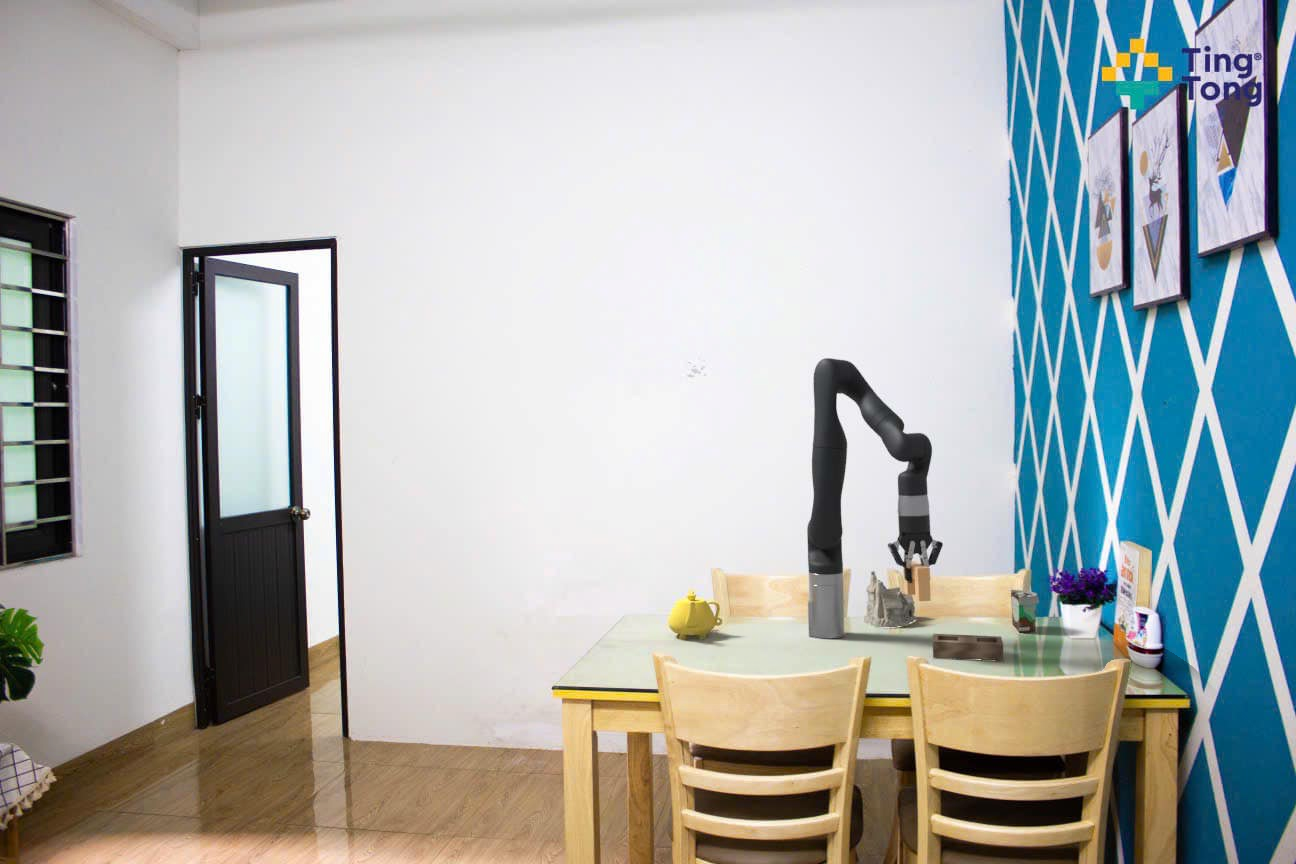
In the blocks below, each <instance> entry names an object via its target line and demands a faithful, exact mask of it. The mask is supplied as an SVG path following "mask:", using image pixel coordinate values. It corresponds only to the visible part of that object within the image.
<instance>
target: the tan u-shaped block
mask: <svg viewBox="0 0 1296 864" xmlns="http://www.w3.org/2000/svg"><path fill="white" fill-rule="evenodd" d="M911 571H912V583H908V582H907V581H906V580H905V577H904V576H903V588H904V589H903V591H904V593H903V594H907V595H912V596H913V595H915V601H917V602H931V599H932V598H931V583H930V582H931V568H930V566H929V567H926V566H924V565H922V564H921V563H919V562H917V561H913V560H912V563H911ZM902 574H903V575H904V567H903V566H902Z"/></svg>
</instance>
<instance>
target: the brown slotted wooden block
mask: <svg viewBox="0 0 1296 864" xmlns="http://www.w3.org/2000/svg"><path fill="white" fill-rule="evenodd" d="M932 635H933V636H932V658H933V657H936V658H935V659H943V658H952V659H951V660H963V659H981V660H980V661H982V660H995V661H994V662H1001V661H1004V643H1003V638H1002V636H1000V635H998V636H995V635H975V634H973V635H972V634H951V633H950V634H949V633H933V634H932ZM954 658H955V659H954Z"/></svg>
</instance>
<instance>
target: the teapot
mask: <svg viewBox="0 0 1296 864" xmlns="http://www.w3.org/2000/svg"><path fill="white" fill-rule="evenodd" d="M710 605H715V607H716V610H715V611H716V612H715V614H714V612H713V610H712V608H711V606H710ZM720 609H721V608H720V605H719V603H718V602H717V601H715V600H708V601H707V600H706V599H704V598H700V597H697V594H695V592H694V589H691V588H690V589H689V591H688V594H686V598H680V599H677V601H676V603H675V604H674V606H673V607H672V610H671V611H670V615H669V619H668V626H669V627H668V628H669V629H670V630H671V631H672V632H673V633H675V634H677V635H679V634H680V635H679V636H678V640H686V639H687V638H688V636H696V635H697V637H698V639H699V638H706V637H707V634H708V633H711V632H713V630H714V628H715V627H718V626H721V625H722V624H723V619H722V618H721V617H719V614H720ZM718 621H719V622H718ZM706 639H707V638H706Z"/></svg>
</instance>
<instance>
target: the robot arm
mask: <svg viewBox="0 0 1296 864" xmlns="http://www.w3.org/2000/svg"><path fill="white" fill-rule="evenodd" d="M838 394H840V395H841V394H843V395H844V396H847V397H848V398H849V399H851V400H852V401H853V402H854V403H856V405H857V407H858V408H859V411H860V414H861V416H862V418H863V420H864V422H865V423H866V424H867V426H868V427H869V428H870V429H871V430H872V431H874V433H875V434H877V436H878V437H880V439H881V441H882V443H883V445H884V447H885V448H886V450H887V452H888V453H889V455H890V456H891V457H892V458H893V459H895V460H897V461H898V462H902V463H907V467H906V470H904V471H902V472H901V473H899V474H898V476H897V489H898V490H897V491H898V496H897V497H898V499H897V515H898V517H897V518H898V537H897V540H896V541H894V542H889V543H888V544H887V547H888V549H889V552H890V553H891V555H892V557H893V559H894V561H895V563H896V565H897V566H900V567H902V568H903V567H904V574H903V578H904V577H905V580H906V581H907V582H908V583H912V571H911V563H912V561H913V559H914V555H916V554H918V557H919V561H920V564H922V565H924V566H926V567H929V568H930V567H931V566H933V565H936V564H937V561H938V559H939V556H940V553H941V550H942V548H943V546H944V545H943V542H942V541H939V540H936V539H933V537H932V535H931V518H930V517H931V516H930V502H929V496H928V493H929V492H928V476H929V475H928V474H929V470H930V467H931V462H932V456H933V455H932V454H933V447H932V443H931V440H930V438H929V437H928V435H926V434H925V433H922V432H911V433H910V432H909V433H906V432H904V430H905V422H904V421H903V419H902V418H901V417H900V416H899V415H898V414H897V413H895V411H894V410H892V409H891V408H890V406H888V405H887V404H886V403H885V402H884V401H883V400H882V399H881V398H880V397H879V396H878V394H877V393H876V392H875V390H873V388H872V387H871V386H870V384H869V383H868V382H867V380H866V379H865V377H864V375H862V373H861V372H860V371H859V369H858V368H857V366H856V365H854V363H853V362H851V361H849V360H845V359H837V358H830V357H828V358H823V359H820V360H819V361H818V362H817V364H816V366H815V367H814V372H813V404H814V405H813V406H814V411H813V412H814V413H813V414H814V417H813V440H812V452H811V454H812V455H811V470H812V471H811V476H812V477H811V478H812V487H813V503H812V508H811V514H810V515H811V516H810V520H809V521H808V523H807V530H806V532H807V533H806V534H807V565H808V594H809V595H808V597H809V598H808V599H809V600H808V601H807V612H808V613H807V616H808V617H807V618H808V620H807V621H808V622H807V623H808V637H813V638H818V639H838V638H842V637H844V636H845V605H844V603H845V602H844V601H845V599H844V597H845V596H844V573H843V572H844V562H843V547H842V545H843V543H842V539H843V538H842V537H843V534H844V533H843V532H844V531H843V523H842V494H843V489H844V482H845V476H846V469H847V468H846V467H847V456H848V441H847V440H848V439H847V436H846V433H845V430H844V427H843V426H842V423H841V421H840V418H839V414H838V410H837V400H838V399H837V398H838V396H837V395H838ZM930 546H931V548H932V549H931V551H930V554H929V556H928V552H927V551H928V549H929V547H930ZM900 547H901V548H902V549H903V551H904V552H903V558H902V556H901V554H900V553H899V550H900Z"/></svg>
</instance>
